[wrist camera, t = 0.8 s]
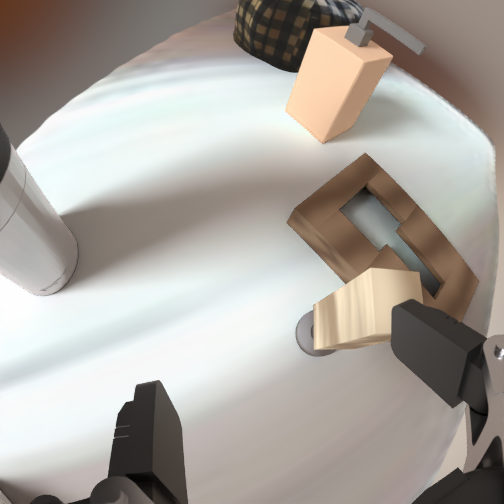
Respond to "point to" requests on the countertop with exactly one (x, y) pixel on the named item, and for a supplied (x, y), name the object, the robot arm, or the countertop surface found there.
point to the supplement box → (4, 499)
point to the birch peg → (357, 312)
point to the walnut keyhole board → (367, 256)
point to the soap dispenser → (342, 74)
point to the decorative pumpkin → (288, 27)
